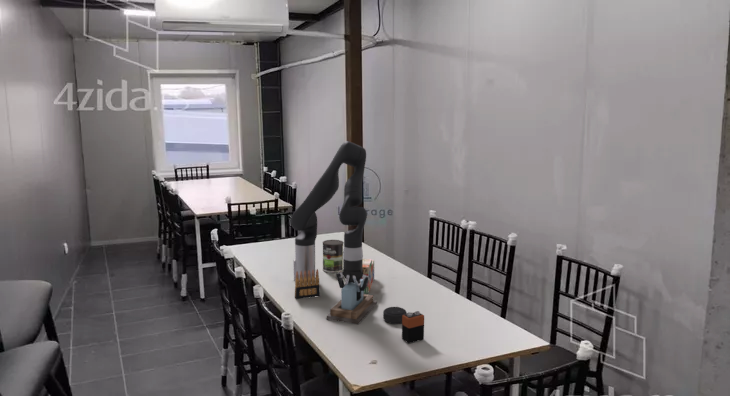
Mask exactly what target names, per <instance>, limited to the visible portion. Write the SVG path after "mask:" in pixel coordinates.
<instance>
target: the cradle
mask: <svg viewBox="0 0 730 396" xmlns="http://www.w3.org/2000/svg"><path fill="white" fill-rule="evenodd" d="M377 305H378V300H374V295H372V294H367V293H363V301H362V302H361V303H360V304H359V305H358V306H357V307H356V308H355V309H354V310H347V309H341V299H340V301H338V302H337V303H336V304H334V306H332V307H331V308H330V311H329V313H327V315H326V319H327V320H328V321H335V322H340V323H347V324H352V325H353V324H356V325H359V324H360V323H361V322H362V321H363V320H364V319H365V318H366V317H367V316H368V315H369V313H371V311H372V310H374V308H375V307H376V306H377Z"/></svg>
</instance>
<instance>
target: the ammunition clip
mask: <svg viewBox="0 0 730 396" xmlns="http://www.w3.org/2000/svg"><path fill="white" fill-rule="evenodd" d="M294 281H295V283H294V284H295V286H294V299H295V300H301V299H307V298H308V299H309V297H310V298H315V296H318V297H321V292H320V291H321V290H320V276H319V269H318V268H316V269H315V273H314V270H312V278H311V274H310V270H309V271H308V279H307V275H306V270H305V271H304V279H303V275H302V271H300V279H299V276H298V271H297V272H296V280H294Z"/></svg>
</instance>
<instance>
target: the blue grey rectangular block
mask: <svg viewBox="0 0 730 396" xmlns="http://www.w3.org/2000/svg"><path fill="white" fill-rule="evenodd" d="M360 281H361V287H362V286H363V283H364V281H363V279H360ZM340 289H341V293H340V295H341V299H340V300H341V309H347V310H354V309H355V308H356V307H357V306H358V305H359V304H360V303H361V302H362V301H363V294H364V293H363V292H364V291H361V299H360V300H359V301H357V287H356V286H355V283H349V284H348V285H346V286H344V287H343V288H340Z"/></svg>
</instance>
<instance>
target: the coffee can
mask: <svg viewBox="0 0 730 396" xmlns="http://www.w3.org/2000/svg"><path fill="white" fill-rule="evenodd" d="M343 251H344V240H339V239H326V240H323V241H322V271H323V272H325V273H336V274H337V273H339V272H343V270H344V269H343Z"/></svg>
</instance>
